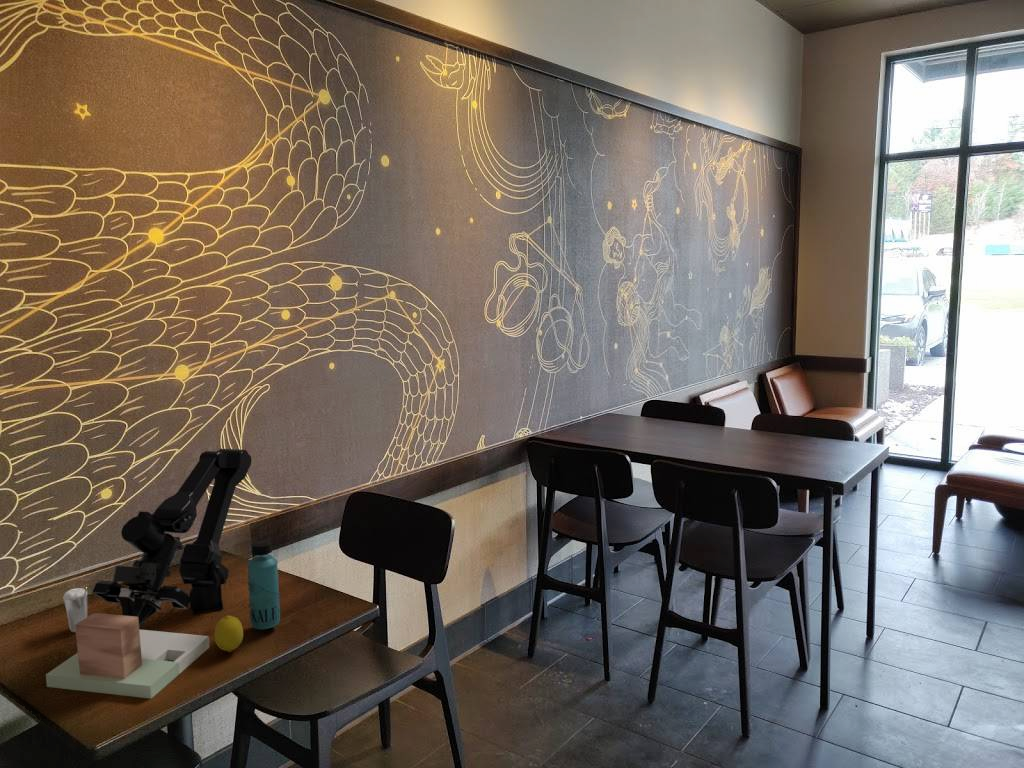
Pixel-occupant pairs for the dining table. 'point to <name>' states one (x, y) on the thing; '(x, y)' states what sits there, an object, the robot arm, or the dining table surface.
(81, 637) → the terracotta block
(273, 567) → the beverage bottle
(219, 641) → the lemon
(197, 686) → the dining table surface
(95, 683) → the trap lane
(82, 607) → the milkshake
